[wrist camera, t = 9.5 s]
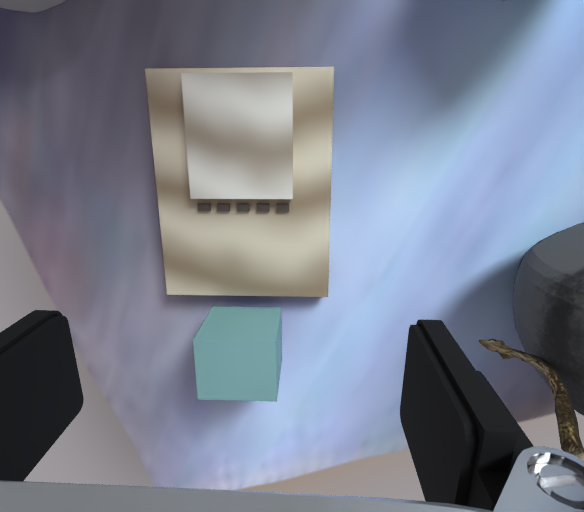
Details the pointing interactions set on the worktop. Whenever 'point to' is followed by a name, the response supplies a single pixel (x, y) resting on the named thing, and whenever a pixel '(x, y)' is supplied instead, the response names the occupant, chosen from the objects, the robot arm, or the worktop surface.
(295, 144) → the ticket board
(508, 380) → the worktop surface
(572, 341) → the pitcher
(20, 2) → the lumpy-topped squat cylinder
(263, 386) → the block
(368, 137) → the worktop surface
